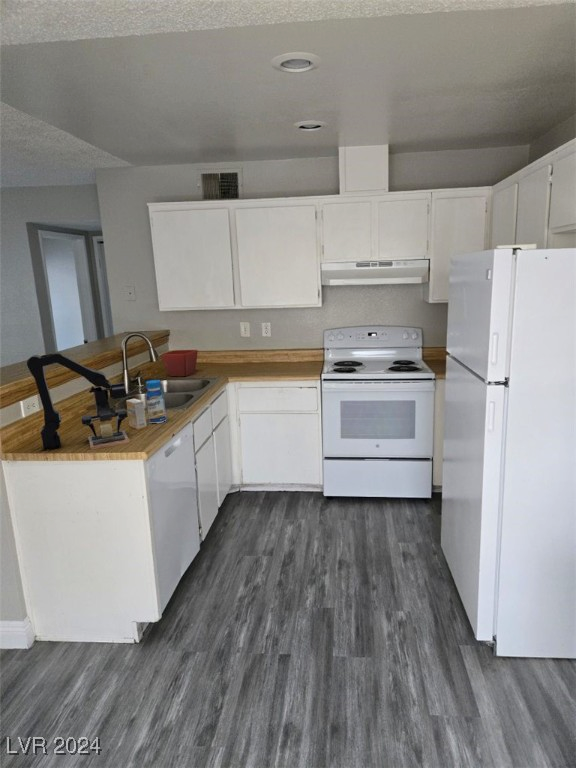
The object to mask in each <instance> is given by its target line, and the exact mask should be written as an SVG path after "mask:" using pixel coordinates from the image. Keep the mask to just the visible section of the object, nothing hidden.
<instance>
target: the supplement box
mask: <svg viewBox="0 0 576 768" xmlns="http://www.w3.org/2000/svg"><path fill="white" fill-rule="evenodd" d="M125 402H126V408H127V409H126V411H127V415H128V417H127V418H128V422H129V423H128V424H129V427H130V428H133V429H135V430H138V431H139V430H144V429H147V418H146V412H145V402H144V400H142V399H138V398H131V399H127V400H126V401H125Z"/></svg>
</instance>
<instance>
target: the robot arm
mask: <svg viewBox="0 0 576 768" xmlns="http://www.w3.org/2000/svg"><path fill="white" fill-rule="evenodd" d="M53 364H59V365H61V366H62V367H65V368H67V369H68V370H70V371H72V372H74V373H76V374H78V375H80V376H82V377H83V378H85V379H86V380H87V381H88V382H90V383H91V384H92V386H91V387H90V389H89V390H88V393H90V394H91V393H93V397H94V403H95V410H96V411H95V412H96V414H95V415H91V414H84V415H81V416H80V418H81V424H82V425H85V426H86V427H87V426H88V427H89V428H90V429H91V431H92V433H93V436H94V435H95V437H97V436H96V435H97V432H96V429H95V426H94V423H93V421H97V420H99V421H100V422H101V423H103V422H107V421H108V422H109V421H112V419H113V418H116V432H117V433H119V431H120V428H121V424H122V422H123V421H124V420H125V419H126V418H129V417H128V410H127V409H126V408H121V409H116V408H115V407H111V403H110V398H111V399H113V400H119V399H127V396H128V395H127V391H126V388H125V387H126V386H125V382H119V383H111V381H109V380H108V379H107V376H106V374H105V373H104V372H102V371H99V370H97V369H93V368H91V367H90V368H89V367H87V366H85V365H83V364H81V363H79V362H77V361H75V360H73V359H71V358H69V356H66V355H64V354H63V353H61V352H60V351H56V352H53V353H49V354H48V353H47V354H43V355H38V354H33V355H31V356H30V357H28V360H27V361H26V367H27V368H28V370H29V372H30V374H31V375H32V377H33V380H34V381H35V384H36V388H37V391H38V395H39V398H40V402H41V405H42V409H43V415H44V416H43V418H44V419H43V421H44V425H43V426H42V427H41V430H40V435H41V441H42V450H43V449H44V450H45V451H47V450H46V449H51V450H55V449H60V448H61V446H62V441H61V434H59V432H58V431H57V430H59V428H60V427H61V423H62V420H63V417H62V415H61V410H60V409H58V410H56V408H55V406H54V404H53V400H52V396H51V393H50V389H49V386H48V382H47V379H46V374H45V373H46V372H45V371H46V370H45V369H46V366H50V365H53ZM109 397H110V398H109Z"/></svg>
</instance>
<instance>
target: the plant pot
mask: <svg viewBox="0 0 576 768" xmlns="http://www.w3.org/2000/svg"><path fill="white" fill-rule="evenodd" d="M160 355H161V359H162V362H163V364H164V367H165V369H166V372H167V373H168V375H169V377H170V376H186V377H189V376H191V375H193V374H195V371H196V365H197V362H198V349H181V350H180V349H179V350H177V349H175V350H172V351H168V352H164V353H162V354H160ZM188 375H189V376H188Z"/></svg>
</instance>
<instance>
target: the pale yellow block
mask: <svg viewBox="0 0 576 768" xmlns="http://www.w3.org/2000/svg"><path fill="white" fill-rule="evenodd" d="M99 427H100V431H101V432H100V433H101V434H102V438H101V439H105V438H110V437H114V435H113V432H114V431H113V427H112V423H107V424H100V425H99Z"/></svg>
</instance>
